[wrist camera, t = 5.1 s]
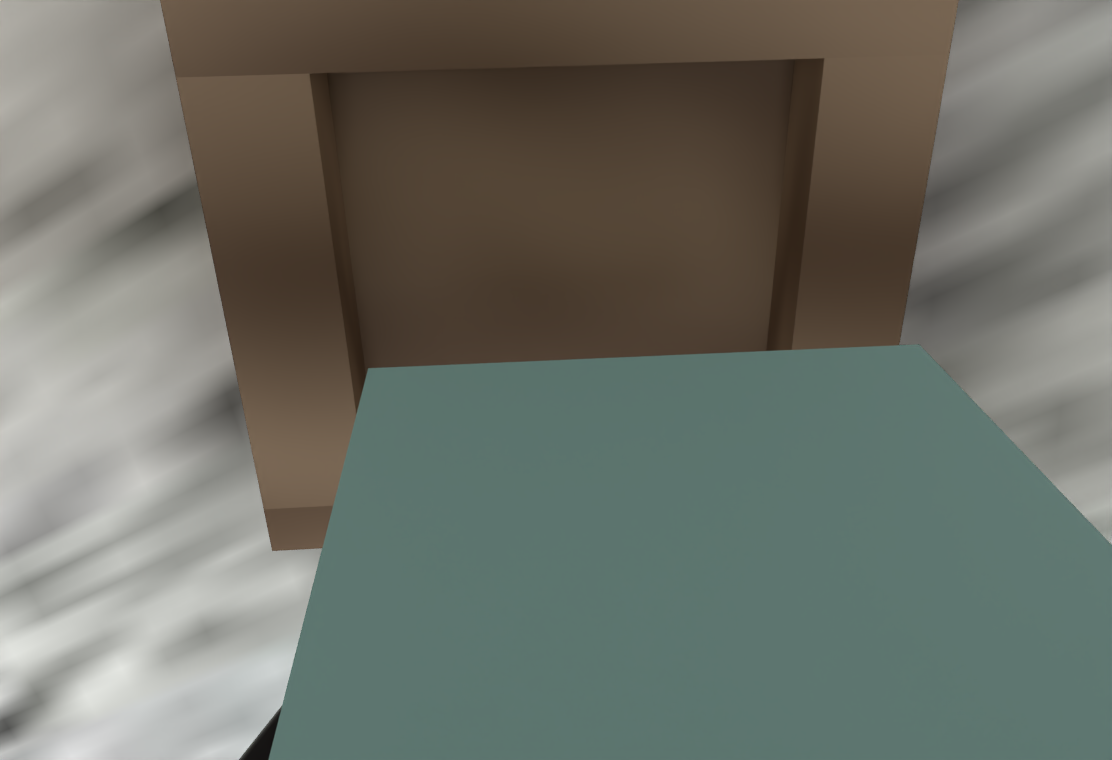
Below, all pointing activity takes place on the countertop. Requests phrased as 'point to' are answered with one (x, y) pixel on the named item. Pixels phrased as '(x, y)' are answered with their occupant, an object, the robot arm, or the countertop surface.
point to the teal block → (698, 570)
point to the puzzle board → (543, 190)
